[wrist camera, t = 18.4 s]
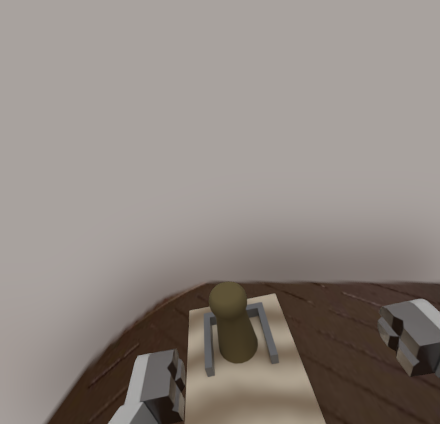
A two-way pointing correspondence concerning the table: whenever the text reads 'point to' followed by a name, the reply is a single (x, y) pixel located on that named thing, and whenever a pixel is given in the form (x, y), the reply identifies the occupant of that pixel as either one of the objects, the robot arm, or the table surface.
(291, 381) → the board
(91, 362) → the table surface
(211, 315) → the frame
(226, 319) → the olive pawn
